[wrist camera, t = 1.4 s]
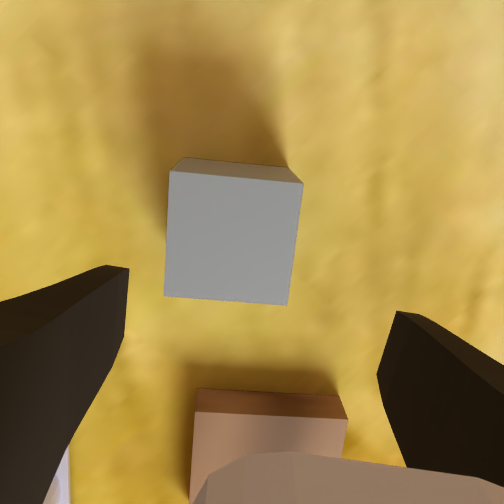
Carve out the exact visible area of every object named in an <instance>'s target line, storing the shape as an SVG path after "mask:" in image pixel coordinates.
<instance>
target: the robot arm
mask: <svg viewBox="0 0 504 504" xmlns="http://www.w3.org/2000/svg"><path fill="white" fill-rule="evenodd" d="M128 280H129V268H122V267H116V266H110V265H104V266H100V267H97V268H94V269H91V270H89V271H86V272H84V273H81V274H79V275H76V276H74V277H71V278H69V279H66V280H64V281H61V282H59V283H56V284H54V285H51V286H48V287H45V288H42V289H39V290H36V291H33V292H30V293H28V294H25V295H22V296H19V297H15V298H12V299H8V300H5V301H1V302H0V504H71V499H70V457H69V443H70V441H71V439H72V437H73V435H74V433H75V431H76V430H77V428H78V426H79V424H80V423H81V421H82V419H83V417H84V416H85V414H86V412H87V410H88V409H89V407H90V405H91V403H92V402H93V400H94V398H95V396H96V395H97V393H98V391H99V389H100V388H101V386H102V384H103V382H104V381H105V379H106V377H107V375H108V373H109V372H110V370H111V368H112V366H113V363H114V361H115V358H116V356H117V353H118V351H119V348H120V345H121V343H122V340H123V338H124V330H125V317H126V305H127V292H128ZM377 379H378V384H379V389H380V394H381V398H382V402H383V406H384V409H385V412H386V415H387V417H388V420H389V422H390V425H391V428H392V430H393V433H394V436H395V438H396V441H397V443H398V446H399V448H400V451H401V454H402V456H403V459H404V461H405V464H406V466H407V468H406V467H399V466H391V465H384V464H377V463H370V462H363V461H356V460H349V459H341V458H334V457H327V456H320V455H313V454H306V453H298V452H291V451H290V452H274V453H259V454H246V455H244V456H242V457H240V458H238V459H236V460H234V461H233V462H231V463H229V464H227V465H225V466H224V467H222V468H220V469H218V470H216V471H214V472H213V473H211V474H209V475H208V477H207V479H206V481H205V483H204V484H203V486H202V488H201V490H200V492H199V493H198V495H197V497H196V499H195V500H194V502H193V504H504V365H502V364H501V363H499V362H497V361H496V360H494V359H492V358H491V357H489V356H488V355H486V354H484V353H483V352H481V351H480V350H478V349H476V348H475V347H473V346H472V345H470V344H469V343H467V342H465V341H464V340H462V339H461V338H459V337H458V336H456V335H455V334H453V333H451V332H450V331H448V330H447V329H445V328H444V327H442V326H440V325H439V324H437V323H435V322H434V321H432V320H430V319H428V318H426V317H424V316H422V315H419V314H414V313H408V312H402V311H396V314H395V317H394V320H393V324H392V327H391V330H390V333H389V336H388V339H387V343H386V346H385V349H384V352H383V355H382V358H381V362H380V365H379V368H378V371H377Z"/></svg>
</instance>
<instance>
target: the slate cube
mask: <svg viewBox="0 0 504 504" xmlns="http://www.w3.org/2000/svg"><path fill="white" fill-rule="evenodd" d="M303 185H304V184H303V182H302V181H301V180H300V179H299V178H298V177H297V176H296V175H295V174H294V173H293V172H292V171H291V170H290V169H289V168H287V167H277V166H266V165H256V164H246V163H236V162H225V161H215V160H205V159H195V158H183V159H181V160H180V161H179V162H178V163H177V164H176V165H175V166H174V167H173V168H172V169H171V170H170V172H169V194H168V216H167V237H166V259H165V281H164V296H168V297H181V298H194V299H207V300H220V301H233V302H246V303H259V304H272V305H285V306H287V304H288V297H289V289H290V282H291V274H292V267H293V259H294V252H295V245H296V237H297V230H298V222H299V215H300V208H301V200H302V193H303Z"/></svg>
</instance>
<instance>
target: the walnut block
mask: <svg viewBox="0 0 504 504" xmlns="http://www.w3.org/2000/svg"><path fill="white" fill-rule="evenodd" d="M347 423H348V418H347V415H346V413H345V410H344V407H343V405H342V402H341V400H340V397H339V396H328V395H310V394H293V393H275V392H257V391H239V390H221V389H203V388H198V391H197V399H196V407H195V419H194V434H193V449H192V465H191V480H190V495H189V504H193V502H194V500H195V499H196V497H197V495H198V493H199V492H200V490H201V488H202V486H203V484H204V483H205V481H206V479H207V477H208V475H209V474H211V473H213V472H214V471H216V470H218V469H220V468H222V467H224V466H225V465H227V464H229V463H231V462H233V461H234V460H236V459H238V458H240V457H242V456H244V455H246V454H259V453H274V452H290V451H291V452H298V453H306V454H313V455H320V456H327V457H334V458H341V456H342V450H343V445H344V439H345V434H346V428H347Z"/></svg>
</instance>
